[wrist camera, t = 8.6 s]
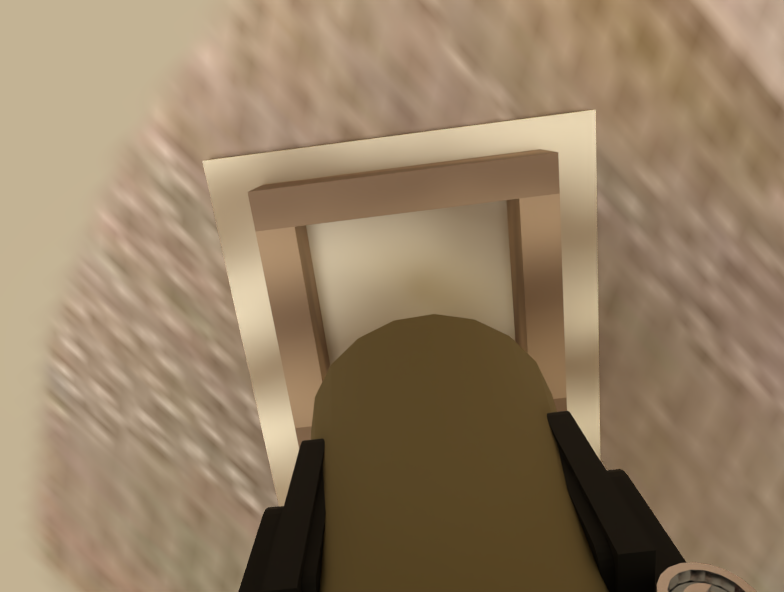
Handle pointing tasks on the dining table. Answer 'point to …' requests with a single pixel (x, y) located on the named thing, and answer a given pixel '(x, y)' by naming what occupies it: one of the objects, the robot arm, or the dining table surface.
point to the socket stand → (412, 255)
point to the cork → (444, 467)
